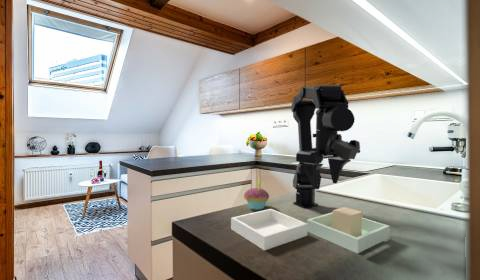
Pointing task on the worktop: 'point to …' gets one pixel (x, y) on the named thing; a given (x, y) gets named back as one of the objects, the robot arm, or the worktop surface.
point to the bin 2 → (369, 237)
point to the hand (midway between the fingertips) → (325, 185)
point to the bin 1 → (269, 228)
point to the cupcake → (256, 197)
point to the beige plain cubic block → (347, 221)
